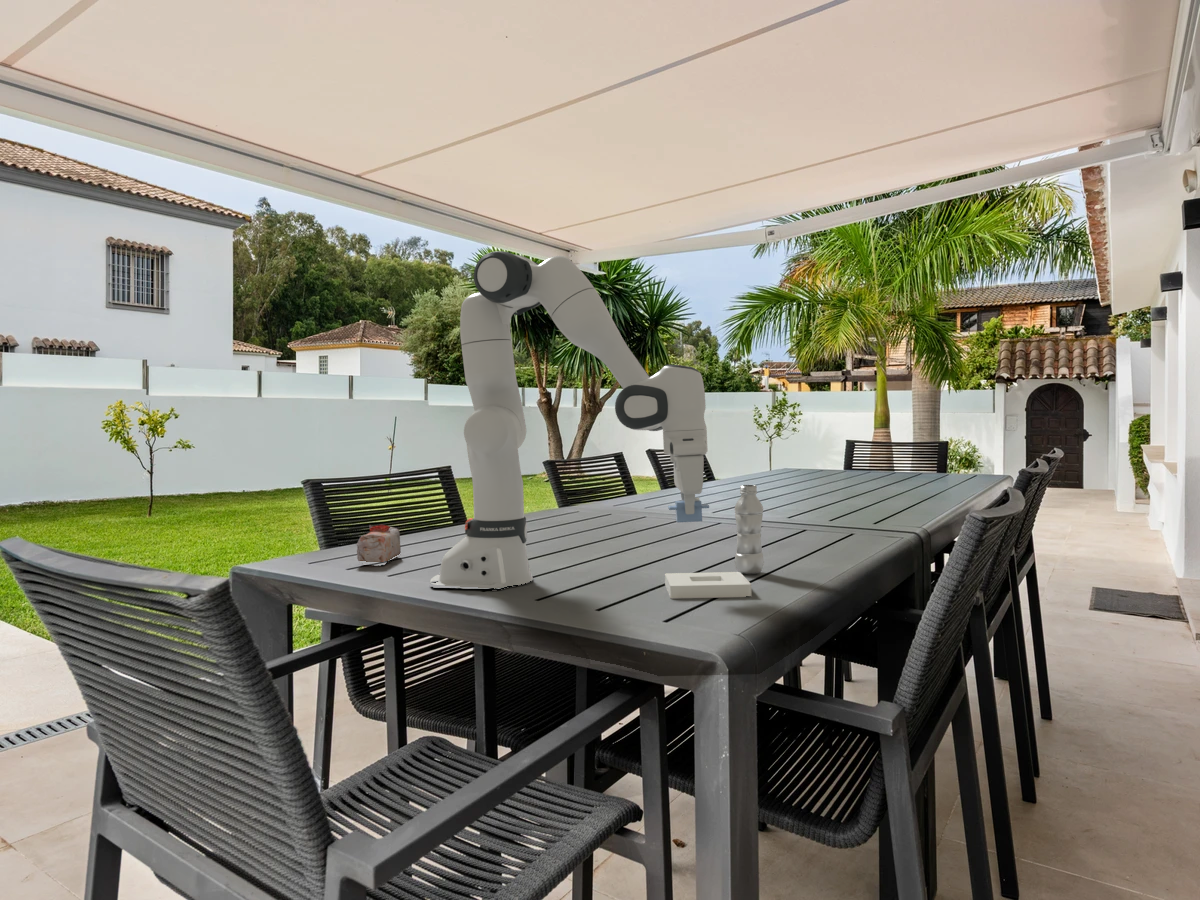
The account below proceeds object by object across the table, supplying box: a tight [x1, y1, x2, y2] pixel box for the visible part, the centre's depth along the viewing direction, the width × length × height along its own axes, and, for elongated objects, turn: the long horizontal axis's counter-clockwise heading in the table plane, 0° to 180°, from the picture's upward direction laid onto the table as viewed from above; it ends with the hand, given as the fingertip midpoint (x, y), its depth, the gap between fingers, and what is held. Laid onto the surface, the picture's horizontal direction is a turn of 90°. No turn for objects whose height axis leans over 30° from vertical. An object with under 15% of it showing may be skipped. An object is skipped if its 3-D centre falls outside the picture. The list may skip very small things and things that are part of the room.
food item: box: [356, 523, 402, 562], centre depth 194 cm, size 14×8×10 cm, turn 177°
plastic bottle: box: [734, 484, 765, 575], centre depth 171 cm, size 6×7×20 cm
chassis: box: [664, 571, 752, 599], centre depth 155 cm, size 16×12×2 cm
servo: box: [667, 497, 710, 523], centre depth 153 cm, size 8×3×5 cm, turn 89°
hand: (688, 512), depth 153 cm, fingers closed on servo, 3 cm apart
